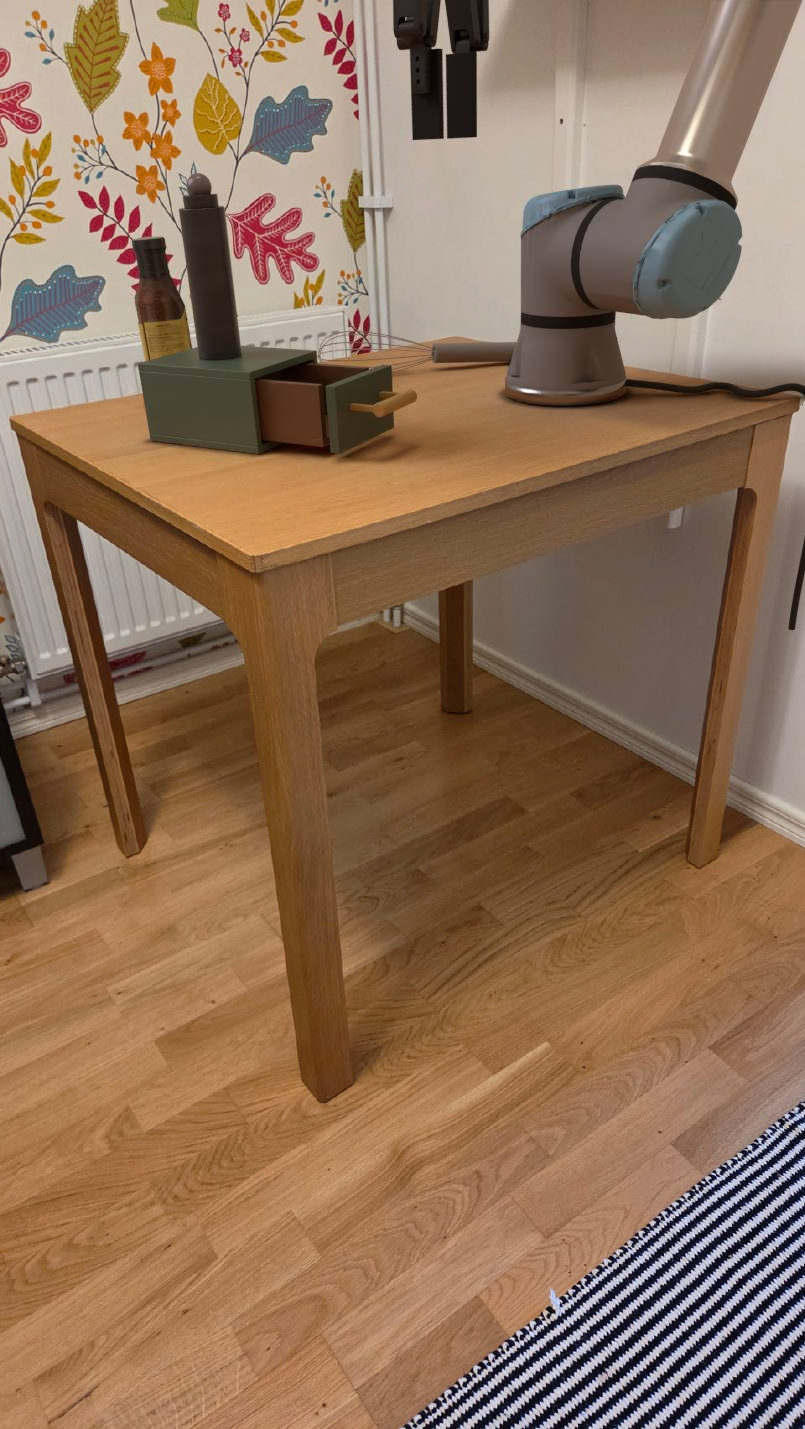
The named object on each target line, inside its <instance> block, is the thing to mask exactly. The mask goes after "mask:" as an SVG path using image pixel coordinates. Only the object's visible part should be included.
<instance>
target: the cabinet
mask: <svg viewBox="0 0 805 1429" xmlns="http://www.w3.org/2000/svg"><path fill="white" fill-rule="evenodd" d="M241 352H242V355H241V356H240V357H237V358H233V359H227V360H202V359H200V358H199V354H198V347H197V346H196V347H192V349H188V350H185V351H181V352H178V353H174V354H170V355H167V356H163V357H159V358H156V359H152V360H148V361H145V360H144V361H142V362H138V363H137V369H138V375H139V380H140V386H141V392H142V393H141V394H142V398H143V404H144V410H145V417H146V422H147V427H148V434H149V439H150V441H151V442H158V443H167V444H174V445H183V446H189V447H196V448H197V447H198V448H206V449H213V450H222V451H229V452H236V453H237V452H238V453H247V454H253V455H260V454H263V453H265V452H267V451H269V450H272V449H274V448H277V447H279V446H281V445H283V444H285V443H284V442H275V441H267V440H261V432H260V423H259V414H258V405H257V396H256V387H255V378H258V377H261V376H264V375H267V374H270V373H273V372H276V371H279V370H282V369H285V368H288V367H291V366H294V365H297V364H300V363H303V362H305V363H318V357H317V355H318V350H316V349H315V350H313V349H300V348H299V349H298V348H283V347H268V346H254V345H253V346H252V345H250V346H249V345H241Z"/></svg>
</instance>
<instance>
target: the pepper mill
mask: <svg viewBox="0 0 805 1429" xmlns="http://www.w3.org/2000/svg"><path fill="white" fill-rule="evenodd" d="M185 188H186V192H187V194H183V195H182V201H183V207H180V208H178V215H179V223H180V229H181V237H182V244H183V245H182V246H183V251H184V259H185V265H186V273H187V280H188V289H189V295H190V303H191V309H192V310H191V311H192V316H193V317H192V318H193V324H194V332H195V338H196V347H198V354H199V358H200V359H202V360H227V359H233V358H237V357H240V356H241V355H242V352H241V346H242V344H241V336H240V327H239V318H238V308H237V302H236V301H237V300H236V292H235V283H234V276H233V266H232V259H231V258H232V257H231V251H230V250H231V249H230V242H229V233H228V224H227V216H226V206H224V205H220V204H219V197H218V193H212V190H213V189H212V183H211V180H210V178H209V177H208V176H207V175H205V174H204V173H201V172H195V173H192V174H191V175H189V177H188V178H187V180H186V182H185Z"/></svg>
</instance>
